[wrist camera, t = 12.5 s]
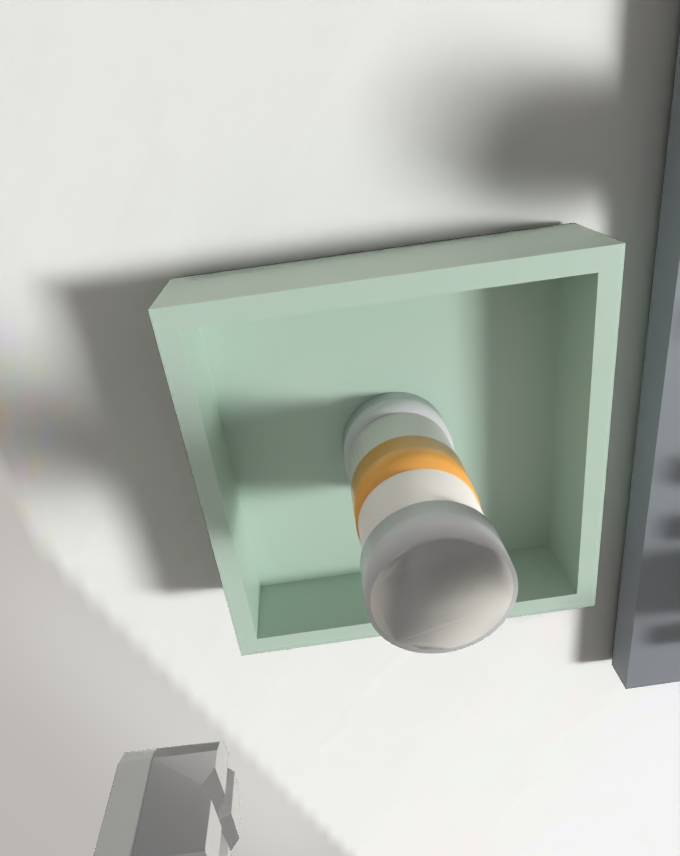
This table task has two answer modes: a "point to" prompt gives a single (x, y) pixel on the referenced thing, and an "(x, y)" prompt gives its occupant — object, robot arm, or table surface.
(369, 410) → the marked fuse
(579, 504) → the parts tray
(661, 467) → the fuse holder
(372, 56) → the table surface
